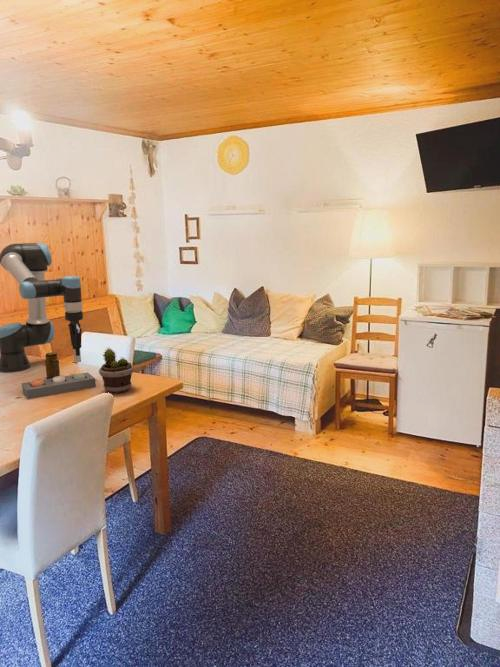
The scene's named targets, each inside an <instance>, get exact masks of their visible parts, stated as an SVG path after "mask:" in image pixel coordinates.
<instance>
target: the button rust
mask: <svg viewBox="0 0 500 667" xmlns="http://www.w3.org/2000/svg"><path fill="white" fill-rule="evenodd" d="M43 380H44V379H33V380H31V381H30V382H31V386H32V387H36V386H42V385H44V381H43Z"/></svg>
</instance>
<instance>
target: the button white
mask: <svg viewBox="0 0 500 667" xmlns="http://www.w3.org/2000/svg"><path fill="white" fill-rule="evenodd" d="M64 376H65V375H60V376H56V377H53V383H60V382H65V377H64Z"/></svg>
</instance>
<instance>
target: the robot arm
mask: <svg viewBox="0 0 500 667" xmlns="http://www.w3.org/2000/svg"><path fill="white" fill-rule="evenodd" d="M52 261H53V260H52V255H51V252H50V249H49V247H48V246H47V245H46V244H45V243H43V242H42V243H39V242H27V243H23V242H22V243H12V244H9V245H6V246H5V247H4V248H3V249H2V250H1V251H0V265H1V267H2V268H3V269H4V270H6V271H7V272H9V273H10V274H11V277H13V279H15V281H16V282H17V284H18V285H19V286H18V289H19V290H18V291H19V294H20V297H21V299H24V300H27V305H28V308H27V309H28V317H27V318H26V320H25V324H23V323H22V322H11V323H7V324H4V325H1V326H0V372H2V373H14V372H15V373H16V372H21V371H24V370H28V369H29V368H31V363H30V360H29V358H28V356H27V354H26V349H25V348H27V347H34V346H40V345H41V346H42V345H43V346H44V345H47V344H50V343H51V342H52V341H53V339H54V337H55V328H54V324H53V322H52V321H50V318H49V317H47V302H46V300H47V298H52V297H62V296H63V305H62V307H64V311H65V312H64V319H65V321H66V322H69V323H68V328H69V329H68V330H69V336H70V344H71V346H72V351H73V363H75V364H77V363H81V362H82V356H81V349H82V332H83V331H82V330H83V329H82V328H81V323H80V321H82V320H83V319H84V312H83V310H84V309H83V301H82V300H83V299H82V298H83V297H82V283H81V278H80V276H79V275H67V276H63V277H62V278H55V279H47V280H46V276H45V275H46V272H47V271H48V270H49V269H48V267H50V266H51V265H52Z"/></svg>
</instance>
